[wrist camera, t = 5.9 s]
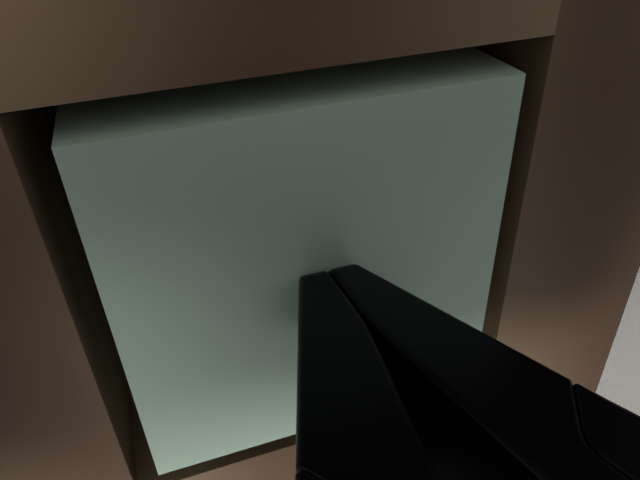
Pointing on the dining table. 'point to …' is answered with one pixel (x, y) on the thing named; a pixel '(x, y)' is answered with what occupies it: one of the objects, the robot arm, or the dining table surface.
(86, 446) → the button panel
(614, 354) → the dining table surface
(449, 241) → the sage button
